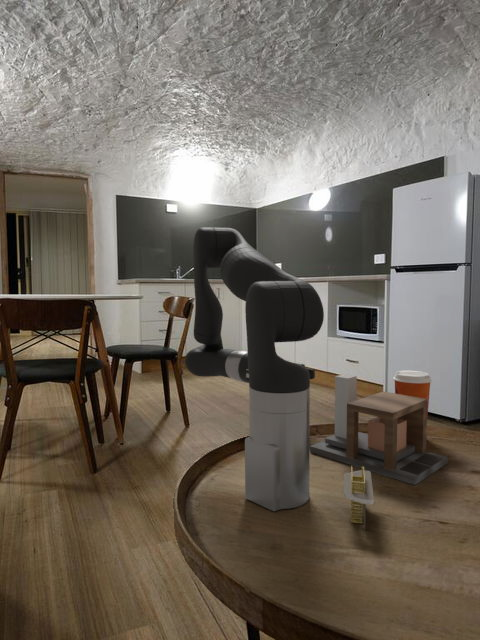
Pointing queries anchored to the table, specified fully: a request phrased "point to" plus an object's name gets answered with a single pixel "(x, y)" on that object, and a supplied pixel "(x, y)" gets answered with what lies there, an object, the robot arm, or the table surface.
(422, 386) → the paper cup
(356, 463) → the tunnel
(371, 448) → the sled
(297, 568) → the table surface
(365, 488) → the yellow ladder
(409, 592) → the table surface
